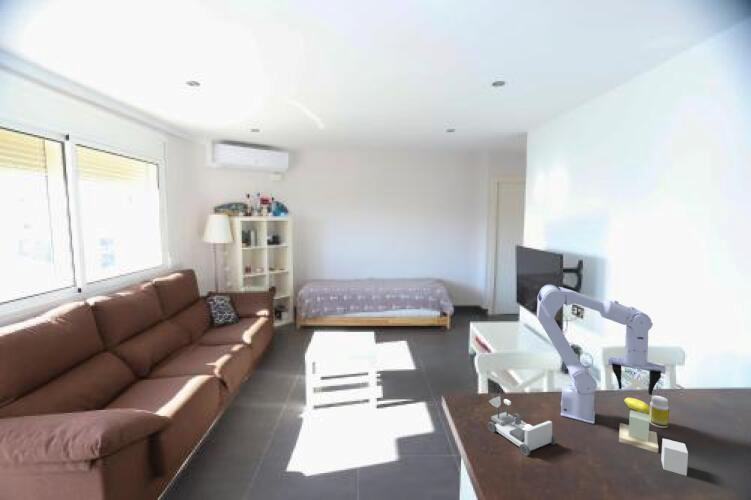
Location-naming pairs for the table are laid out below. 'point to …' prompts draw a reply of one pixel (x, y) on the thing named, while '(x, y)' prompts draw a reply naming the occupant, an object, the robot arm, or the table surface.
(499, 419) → the toy car
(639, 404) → the lemon
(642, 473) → the table surface
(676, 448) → the grey block
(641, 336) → the robot arm
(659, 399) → the supplement bottle
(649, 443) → the birch block
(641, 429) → the sage block
